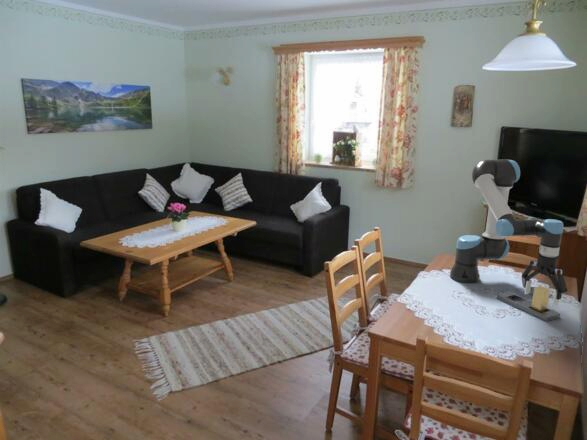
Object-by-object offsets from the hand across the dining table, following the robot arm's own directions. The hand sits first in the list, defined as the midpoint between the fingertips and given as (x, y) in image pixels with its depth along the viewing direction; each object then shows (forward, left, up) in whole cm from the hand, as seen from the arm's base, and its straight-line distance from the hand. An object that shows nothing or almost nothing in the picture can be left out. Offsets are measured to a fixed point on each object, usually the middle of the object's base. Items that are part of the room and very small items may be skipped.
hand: (540, 299), depth 192 cm
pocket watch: (-15, +20, -7) cm, 26 cm away
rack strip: (-6, 0, -7) cm, 9 cm away
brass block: (0, 0, -7) cm, 7 cm away
